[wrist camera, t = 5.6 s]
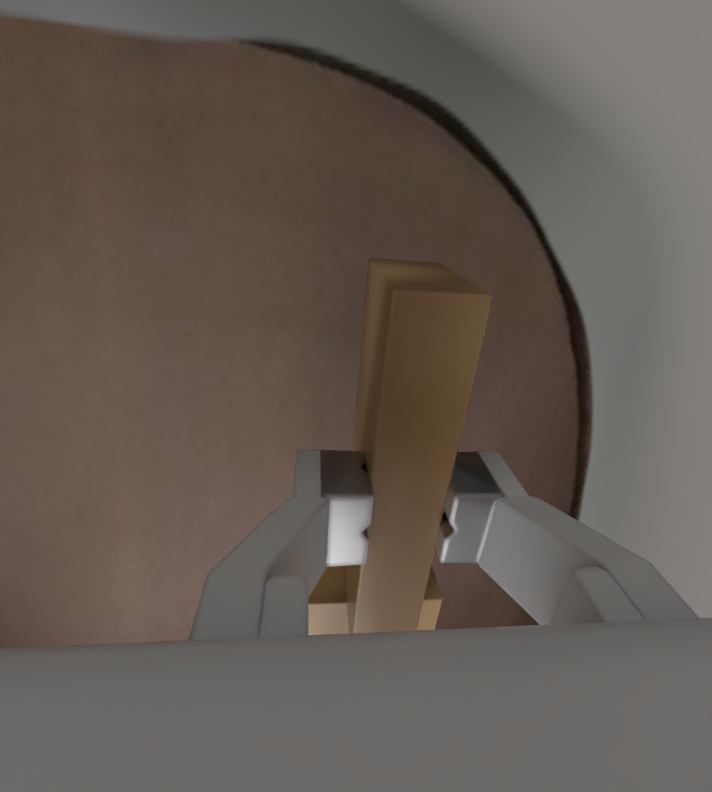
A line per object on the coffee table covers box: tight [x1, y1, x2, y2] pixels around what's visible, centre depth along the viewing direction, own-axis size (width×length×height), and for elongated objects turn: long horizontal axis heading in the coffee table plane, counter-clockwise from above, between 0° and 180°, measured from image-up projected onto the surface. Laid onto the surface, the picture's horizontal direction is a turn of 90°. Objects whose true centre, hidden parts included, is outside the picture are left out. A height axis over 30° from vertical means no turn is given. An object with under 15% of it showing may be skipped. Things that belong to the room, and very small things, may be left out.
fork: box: [308, 258, 492, 635], centre depth 12 cm, size 4×18×3 cm, turn 176°
